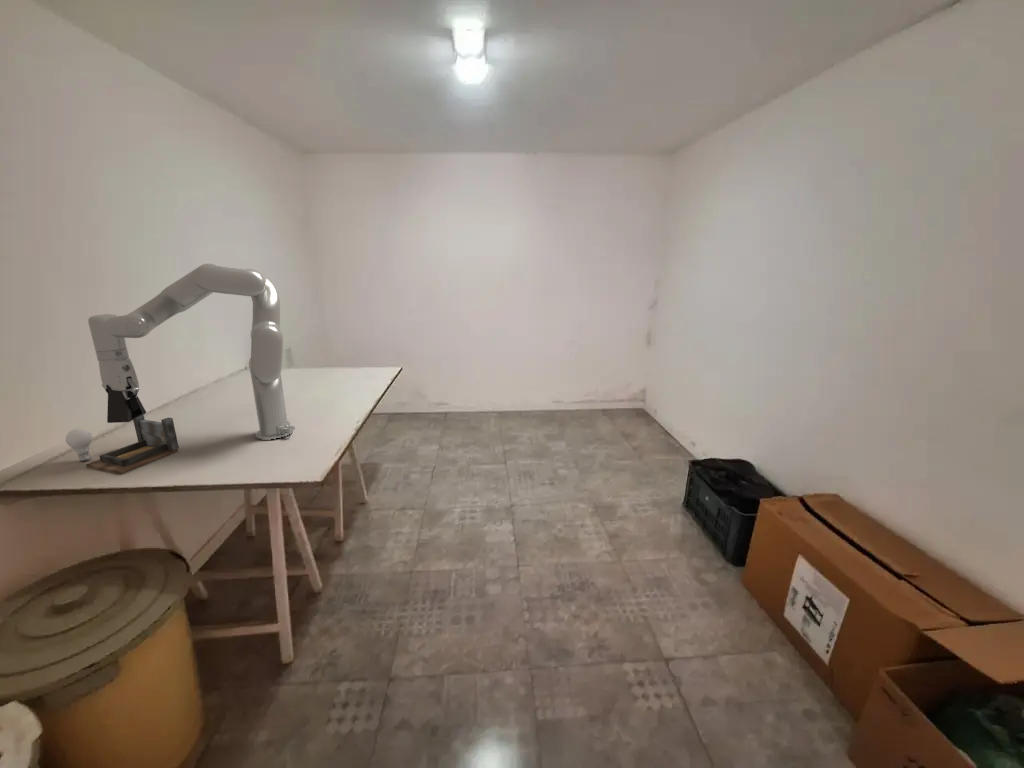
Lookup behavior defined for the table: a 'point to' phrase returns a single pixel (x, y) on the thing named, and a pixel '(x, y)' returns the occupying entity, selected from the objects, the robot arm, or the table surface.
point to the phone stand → (121, 407)
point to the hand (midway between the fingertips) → (125, 409)
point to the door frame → (141, 447)
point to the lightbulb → (80, 442)
